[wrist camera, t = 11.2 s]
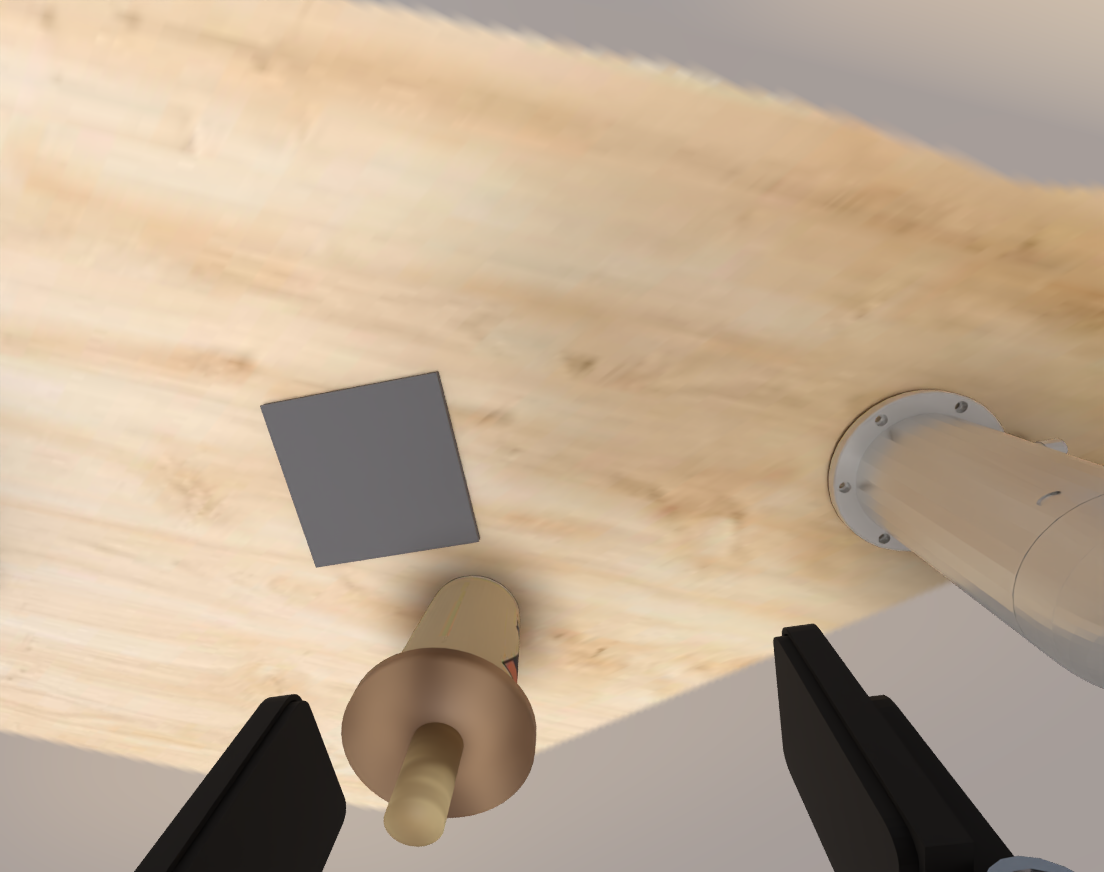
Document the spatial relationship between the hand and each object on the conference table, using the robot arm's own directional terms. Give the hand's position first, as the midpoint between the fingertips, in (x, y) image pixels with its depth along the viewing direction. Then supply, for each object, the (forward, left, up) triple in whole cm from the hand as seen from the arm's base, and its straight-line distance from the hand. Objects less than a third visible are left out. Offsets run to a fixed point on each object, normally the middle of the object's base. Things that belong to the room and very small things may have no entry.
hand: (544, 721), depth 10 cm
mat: (+16, +3, -30) cm, 34 cm away
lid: (+11, +17, -18) cm, 27 cm away
